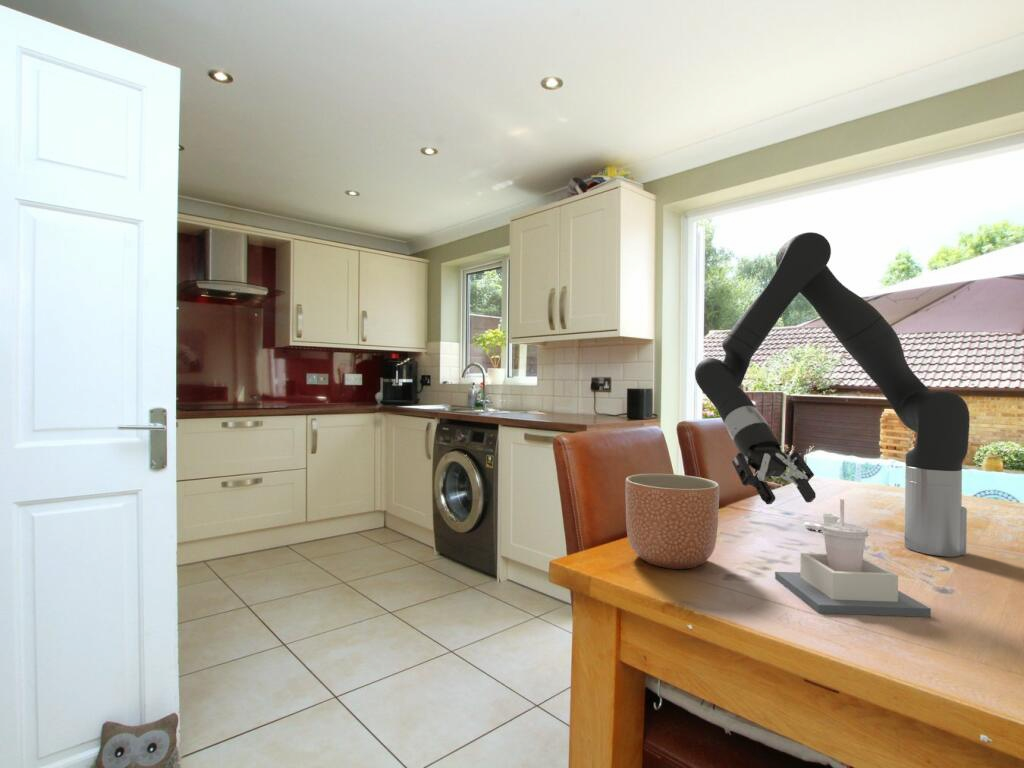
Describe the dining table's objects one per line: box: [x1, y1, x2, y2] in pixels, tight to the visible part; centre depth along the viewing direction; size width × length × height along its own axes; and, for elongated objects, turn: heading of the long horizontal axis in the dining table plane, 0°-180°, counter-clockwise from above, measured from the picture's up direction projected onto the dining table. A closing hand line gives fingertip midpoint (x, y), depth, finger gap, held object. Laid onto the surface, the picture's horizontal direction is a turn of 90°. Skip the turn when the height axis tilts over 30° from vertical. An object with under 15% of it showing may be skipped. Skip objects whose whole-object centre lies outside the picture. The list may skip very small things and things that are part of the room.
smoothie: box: [820, 498, 869, 572], centre depth 85 cm, size 6×6×14 cm
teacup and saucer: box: [804, 513, 840, 531], centre depth 125 cm, size 9×8×4 cm
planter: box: [625, 473, 720, 570], centre depth 100 cm, size 17×17×15 cm
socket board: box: [774, 552, 932, 618], centre depth 84 cm, size 16×14×5 cm
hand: (791, 501), depth 97 cm, fingers open, 8 cm apart
